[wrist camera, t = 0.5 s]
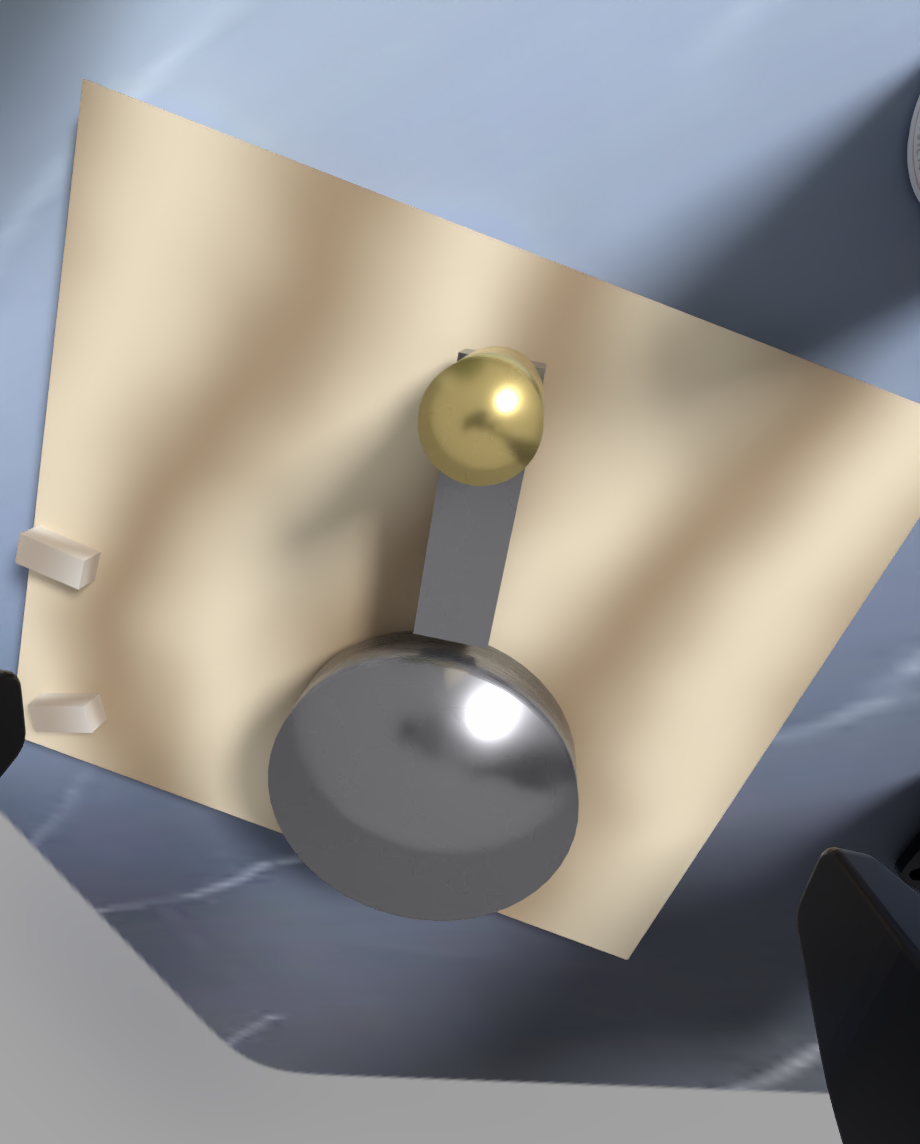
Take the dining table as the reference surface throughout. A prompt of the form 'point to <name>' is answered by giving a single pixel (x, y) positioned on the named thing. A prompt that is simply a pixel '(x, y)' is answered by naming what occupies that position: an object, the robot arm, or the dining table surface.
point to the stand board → (423, 497)
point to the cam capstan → (440, 696)
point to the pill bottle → (914, 151)
